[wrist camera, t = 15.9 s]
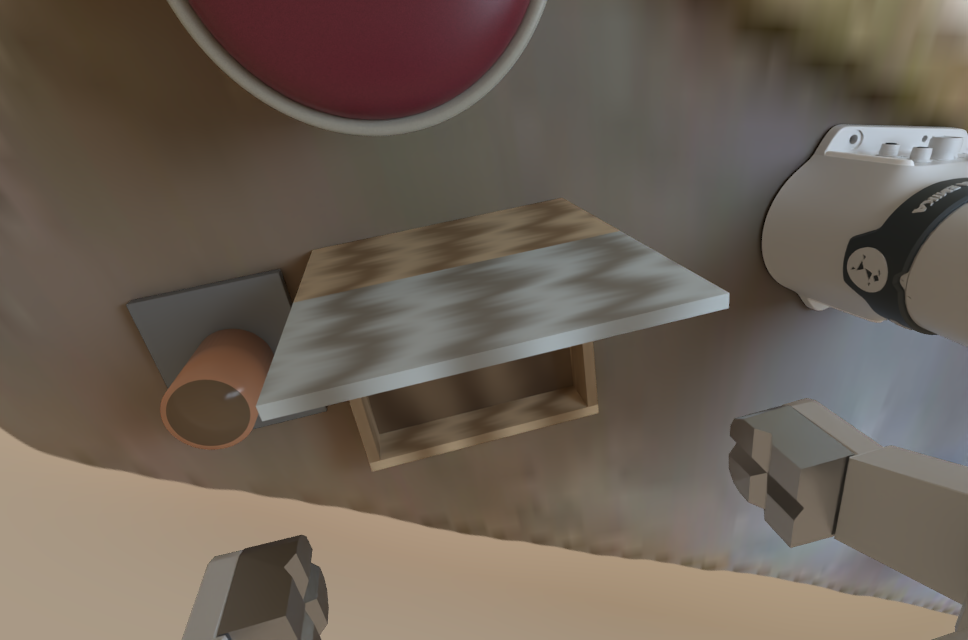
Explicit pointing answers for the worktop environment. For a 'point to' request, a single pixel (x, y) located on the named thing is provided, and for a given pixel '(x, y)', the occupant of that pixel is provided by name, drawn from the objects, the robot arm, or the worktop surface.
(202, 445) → the terracotta pot
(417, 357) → the brown patterned open box
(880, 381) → the worktop surface
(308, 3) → the canister
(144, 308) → the slate tile
